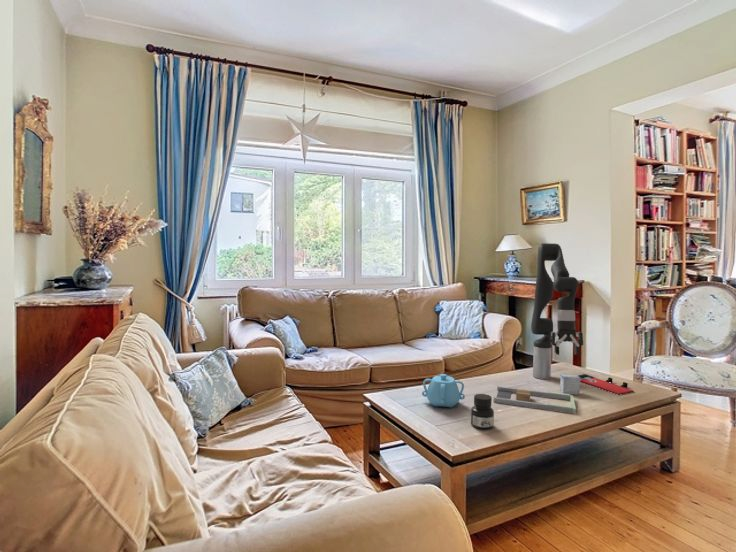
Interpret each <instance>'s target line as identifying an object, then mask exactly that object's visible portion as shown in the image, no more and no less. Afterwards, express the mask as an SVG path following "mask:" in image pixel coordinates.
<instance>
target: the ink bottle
mask: <svg viewBox="0 0 736 552" xmlns="http://www.w3.org/2000/svg"><path fill="white" fill-rule="evenodd" d="M492 398H493V397H492V396H491V395H489V394H486V393H476V394H474V397H473V405H474V406H472V407H471V409H470V411H471V413H470V424H471V426H472V427H473V428H475V429H478V430H485V431H486V430H491V429H493V428H494V427H495V426H494V425H495V412H494V409H493V408H492V400H493V399H492Z"/></svg>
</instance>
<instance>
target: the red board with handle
mask: <svg viewBox="0 0 736 552" xmlns="http://www.w3.org/2000/svg"><path fill="white" fill-rule="evenodd" d="M576 375H577V376H578V377H579V378H580V383H581V382H582V384H584V383H585V384H584V385H587V384H588V386H590V385H591V386H590V387H593V386H594V387H593V388H596V387H597V389H599V388H600V389H599V390H602V389H603V391H605V390H606V391H605V392H608V391H609V392H608V393H610V392H612V393H611V394H613V393H615V394H614V395H616V394H618V395H617V396H621V395H620V394H622V395H627V394H626V393H628V394H632V393H631V392H633V393H635V390H633V389H630V388H628V382H626V381H624V382H622V384H621V385H618V384H616V383H615V384H614V383H613V377H608V378H607V379H606V380H603V379H600V378H598V377H595V376H592V375H589V374H586V373H583V374H582V373H581V374H576ZM609 382H611V383H609ZM625 387H626V388H625Z"/></svg>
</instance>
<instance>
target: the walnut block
mask: <svg viewBox="0 0 736 552" xmlns="http://www.w3.org/2000/svg"><path fill="white" fill-rule="evenodd" d="M516 389H517V392H516V393H515V400H518V401H526V402H531V395H530V391H529V390H530V389H524V390H521V389H522V388H516Z"/></svg>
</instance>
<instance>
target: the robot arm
mask: <svg viewBox="0 0 736 552" xmlns="http://www.w3.org/2000/svg"><path fill="white" fill-rule="evenodd" d="M562 250H563V249H562V247H561V245H560V244H558V243H551V242H550V243H545V242H544V243H543V242H542V243H540V244H539V245H538V247H537V266H536V267H537V268H536V269H537V270H536V272H537V273H536V281H535V286H534V287H535V291H534V304H533V311H532V316H531V323H530V329H531V333H532V334H533V335H538V336H539V335H543V336H542V337H541V338H539V339H535V340H534V341H533V355H532V356H533V357H532V359H533V361H532V377H533V378H536V379H538V380H539V379H541V380H550V379H551V375H552V346H553V347H554V353H555V355H557V356H558V355H559V356H560V345H561V344H562V343H563V342H565V343H566V342H568V343H569V342H570V343H572V345H573V354H574V355H575V356H578V355H579V353H580V347H581V346H583V345H584V338H583V337H584V336H583V332H581V331H578V332H576V312H575V300H576V299H575V298H576V294H577V291H578V288H579V282H578V278H576V277H575V276H570V272H569V270H568V269H567V266H566V263H565V259H564V254H563V251H562ZM547 261H548V262H549V261H550V262H552V261H553V263H552V265H551V266H550V272H551V275H552V277H553V280H552V278H551V276H550V275H549V273H548V271H547V269H546V264H545V263H546V262H547ZM554 291H556V292H557V293H567V295H565V296H562V297H558V299H557V315H556V316H557V317H556V319H557V320H556V321H557V331H555V332H554V322H553V320H552V318H550V317H549V318H548V317H541V316H542V313H543V311H544V309H545V308H546V307H547V306H548V304H549V303H550V302H551V300H553V297H554ZM556 337H557V339H556ZM576 338H577V339H576Z"/></svg>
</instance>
